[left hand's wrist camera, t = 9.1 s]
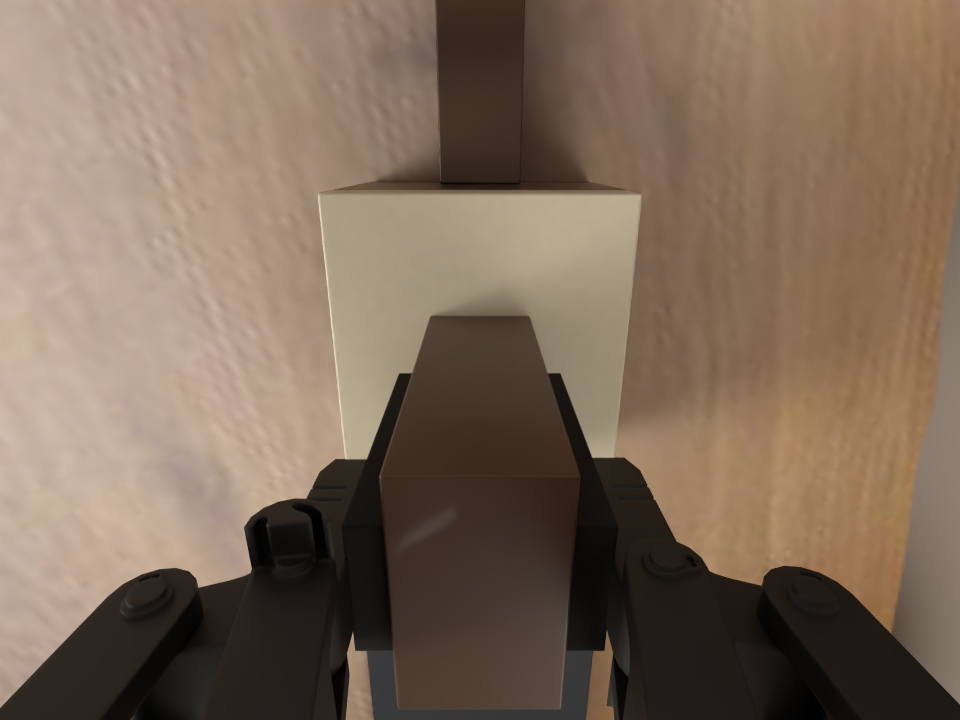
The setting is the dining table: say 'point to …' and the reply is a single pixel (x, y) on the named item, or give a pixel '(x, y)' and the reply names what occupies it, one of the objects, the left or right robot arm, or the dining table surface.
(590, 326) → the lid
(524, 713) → the felt mat
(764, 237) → the dining table surface
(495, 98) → the box
